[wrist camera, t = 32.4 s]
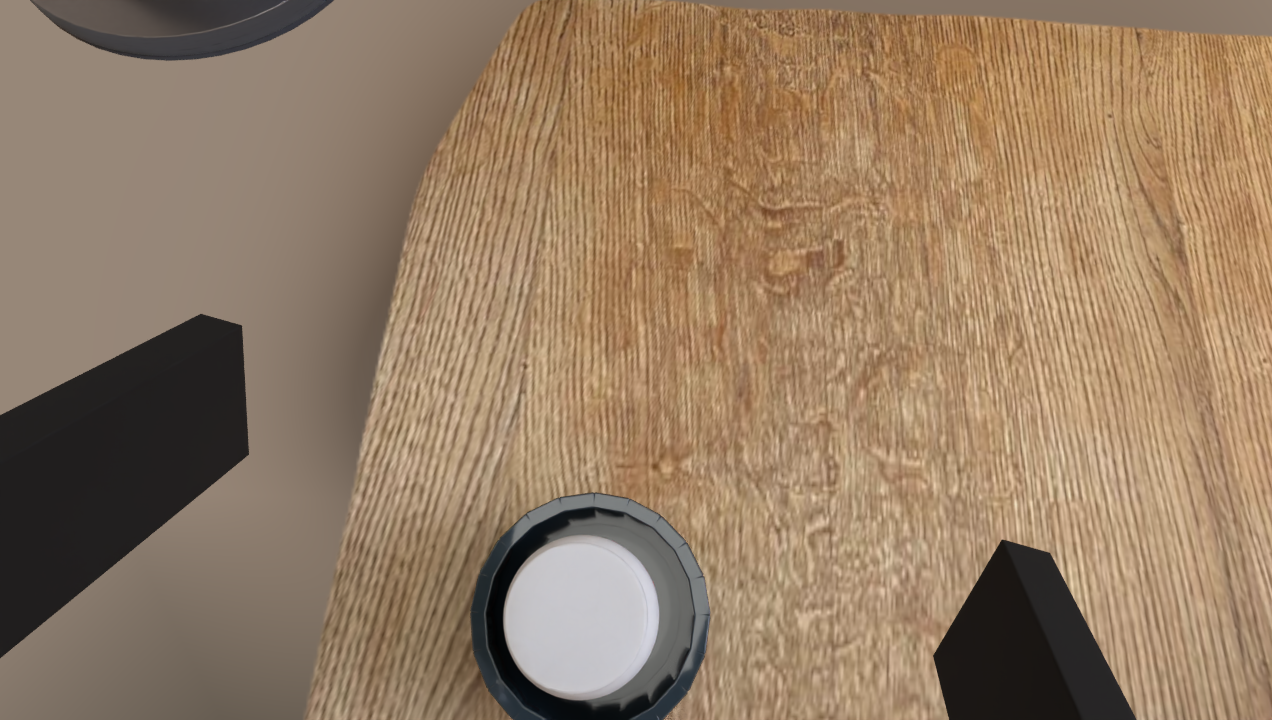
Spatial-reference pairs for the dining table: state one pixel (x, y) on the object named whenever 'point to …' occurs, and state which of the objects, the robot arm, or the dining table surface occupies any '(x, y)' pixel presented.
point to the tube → (682, 596)
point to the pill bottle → (581, 617)
